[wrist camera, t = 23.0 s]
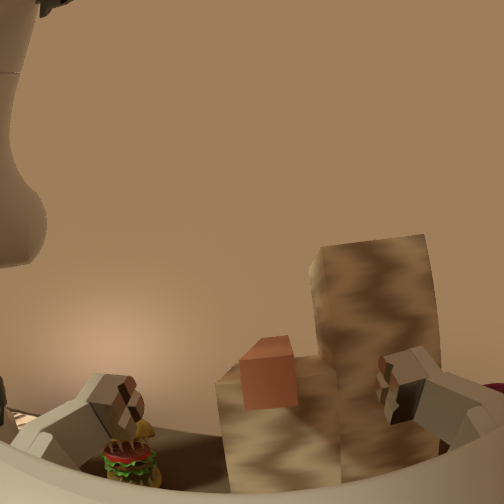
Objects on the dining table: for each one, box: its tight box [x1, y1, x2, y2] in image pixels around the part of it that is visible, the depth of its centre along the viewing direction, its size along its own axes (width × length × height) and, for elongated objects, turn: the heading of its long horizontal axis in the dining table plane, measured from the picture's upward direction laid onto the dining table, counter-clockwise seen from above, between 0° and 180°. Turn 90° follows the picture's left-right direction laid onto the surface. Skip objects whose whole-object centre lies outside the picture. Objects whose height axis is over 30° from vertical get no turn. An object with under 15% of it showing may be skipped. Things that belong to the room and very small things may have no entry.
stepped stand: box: [215, 234, 441, 494], centre depth 28 cm, size 20×12×26 cm, turn 85°
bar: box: [239, 335, 298, 411], centre depth 24 cm, size 3×18×3 cm, turn 174°
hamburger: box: [101, 419, 162, 488], centre depth 27 cm, size 8×7×12 cm
